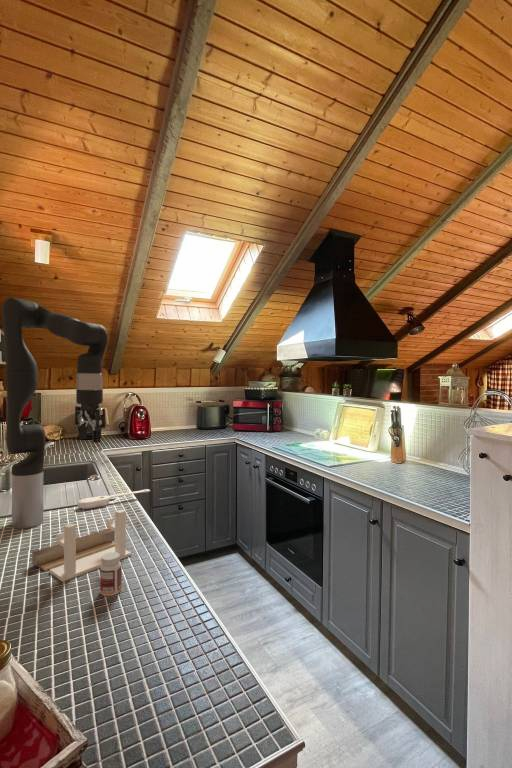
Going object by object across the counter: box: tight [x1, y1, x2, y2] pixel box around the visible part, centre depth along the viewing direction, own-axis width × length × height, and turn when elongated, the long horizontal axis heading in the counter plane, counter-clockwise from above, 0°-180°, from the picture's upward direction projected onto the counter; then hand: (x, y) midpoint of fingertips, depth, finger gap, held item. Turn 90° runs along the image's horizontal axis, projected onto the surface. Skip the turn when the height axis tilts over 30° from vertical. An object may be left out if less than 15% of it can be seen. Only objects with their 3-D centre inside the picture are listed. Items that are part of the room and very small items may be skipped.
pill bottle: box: [99, 552, 123, 597], centre depth 94 cm, size 5×5×8 cm
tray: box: [38, 541, 115, 571], centre depth 113 cm, size 7×20×1 cm, turn 140°
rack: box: [49, 508, 132, 583], centre depth 107 cm, size 7×19×13 cm, turn 140°
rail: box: [31, 528, 115, 568], centre depth 113 cm, size 3×22×3 cm, turn 140°
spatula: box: [77, 488, 151, 510], centre depth 158 cm, size 28×6×3 cm, turn 128°
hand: (89, 440), depth 123 cm, fingers open, 8 cm apart
